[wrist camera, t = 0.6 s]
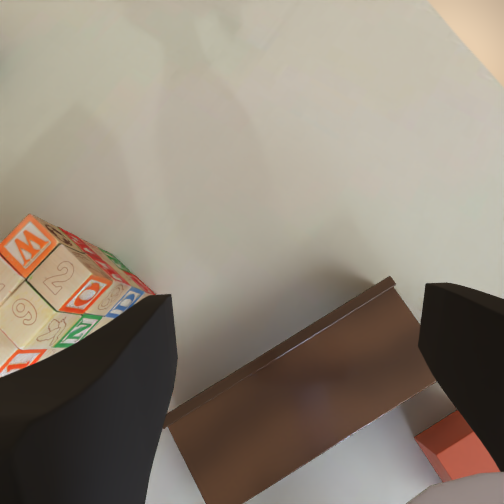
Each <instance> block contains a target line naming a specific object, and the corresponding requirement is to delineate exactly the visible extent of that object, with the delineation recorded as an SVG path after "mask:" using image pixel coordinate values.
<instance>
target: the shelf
mask: <svg viewBox="0 0 504 504" xmlns="http://www.w3.org/2000/svg"><path fill="white" fill-rule="evenodd" d="M395 285H396V283H395V282H394V280H393V279H392V278H391V276H389V277H387V278H386V279H384V280H382V281H381V282H379V283H377V284H376V285H374V286H373V287H371V288H369V289H368V290H366V291H365V292H363V293H361V294H360V295H358V296H356V297H355V298H353V299H352V300H350V301H348V302H347V303H345V304H344V305H342V306H340V307H339V308H337V309H335V310H334V311H332V312H331V313H329V314H327V315H326V316H324V317H322V318H321V319H319V320H318V321H316V322H314V323H313V324H311V325H310V326H308V327H306V328H305V329H303V330H301V331H300V332H298V333H297V334H295V335H293V336H292V337H290V338H289V339H287V340H285V341H284V342H282V343H280V344H279V345H277V346H276V347H274V348H272V349H271V350H269V351H268V352H266V353H264V354H263V355H261V356H259V357H258V358H256V359H255V360H253V361H251V362H250V363H248V364H247V365H245V366H243V367H242V368H240V369H238V370H237V371H235V372H234V373H232V374H230V375H229V376H227V377H226V378H224V379H222V380H221V381H219V382H217V383H216V384H214V385H213V386H211V387H209V388H208V389H206V390H205V391H203V392H201V393H200V394H198V395H196V396H195V397H193V398H192V399H190V400H188V401H187V402H185V403H184V404H182V405H180V406H179V407H177V408H175V409H174V410H172V411H171V412H169V413H167V414H166V418H165V421H164V425H163V429H165V428H166V427H168V428H169V430H170V432H171V434H172V436H173V438H174V440H175V442H176V444H177V446H178V448H179V450H180V452H181V454H182V456H183V458H184V460H185V462H186V464H187V466H188V468H189V470H190V472H191V475H192V477H193V479H194V481H195V483H196V485H197V487H198V489H199V491H200V493H201V495H202V497H203V499H204V501H205V503H206V504H243V503H245V502H246V501H248V500H249V499H251V498H253V497H254V496H256V495H257V494H259V493H260V492H262V491H264V490H265V489H267V488H268V487H270V486H272V485H273V484H275V483H276V482H278V481H279V480H281V479H283V478H284V477H286V476H287V475H289V474H291V473H292V472H294V471H295V470H297V469H299V468H300V467H302V466H303V465H305V464H306V463H308V462H310V461H311V460H313V459H314V458H316V457H318V456H319V455H321V454H322V453H324V452H326V451H327V450H329V449H330V448H332V447H333V446H335V445H337V444H338V443H340V442H341V441H343V440H345V439H346V438H348V437H349V436H351V435H352V434H354V433H356V432H357V431H359V430H360V429H362V428H364V427H365V426H367V425H368V424H370V423H372V422H373V421H375V420H376V419H378V418H379V417H381V416H383V415H384V414H386V413H387V412H389V411H391V410H392V409H394V408H395V407H397V406H399V405H400V404H402V403H403V402H405V401H406V400H408V399H410V398H411V397H413V396H414V395H416V394H418V393H419V392H421V391H422V390H424V389H425V388H427V387H429V386H430V385H432V384H433V383H435V382H437V381H436V379H435V378H434V376H433V375H432V373H431V371H430V369H429V367H428V366H427V364H426V362H425V360H424V358H423V356H422V354H421V352H420V350H419V348H418V340H419V332H420V324H419V323H418V321H417V320H416V318H415V317H414V315H413V314H412V313H411V311H410V310H409V308H408V307H407V305H406V304H405V303H404V301H403V300H402V298H401V297H400V296H399V294H398V293H397V291H396V290H395V288H394V286H395Z"/></svg>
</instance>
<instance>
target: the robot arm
mask: <svg viewBox="0 0 504 504" xmlns="http://www.w3.org/2000/svg"><path fill="white" fill-rule="evenodd" d="M418 348H419V350H420V352H421V354H422V356H423V358H424V360H425V362H426V364H427V366H428V367H429V369H430V371H431V373H432V375H433V376H434V378H435V379H436V381H437V382H438V383H439V385H440V386H441V388H442V389H443V390H444V392H445V393H446V395H447V396H448V397H449V399H450V400H451V401H452V403H453V404H454V405H455V407H456V408H457V410H458V411H459V412H460V414H461V415H462V416H463V418H464V419H465V420H466V422H467V423H468V424H469V426H470V427H471V429H472V430H473V431H474V433H475V434H476V435H477V437H478V438H479V439H480V441H481V442H482V444H483V445H484V447H485V448H486V450H487V451H488V452H489V454H490V455H491V457H492V458H493V460H494V462H495V463H496V465H497V467H498V469H499V470H500V472H493V473H479V474H475V475H471V476H467V477H463V478H459V479H455V480H451V481H447V482H443V483H439V484H435V485H432V486H429V487H428V488H427V489H425V490H424V491H422V492H421V493H420V494H418V495H417V496H416V497H414V498H413V499H412V500H410V501H409V502H407V503H406V504H504V299H502V298H499V297H496V296H493V295H490V294H487V293H484V292H481V291H478V290H475V289H472V288H468V287H465V286H461V285H457V284H452V283H426V285H425V293H424V301H423V309H422V317H421V325H420V332H419V340H418ZM177 359H178V356H177V346H176V336H175V326H174V316H173V307H172V297H171V294H165V295H149V296H147V297H145V298H143V299H142V300H140V301H139V302H137V303H136V304H134V305H133V306H132V307H130V308H129V309H127V310H126V311H124V312H123V313H122V314H120V315H119V316H117V317H116V318H114V319H113V320H112V321H110V322H109V323H107V324H106V325H104V326H102V327H101V328H99V329H98V330H96V331H94V332H93V333H91V334H90V335H88V336H86V337H85V338H83V339H82V340H80V341H78V342H76V343H75V344H73V345H71V346H69V347H67V348H66V349H64V350H62V351H60V352H58V353H56V354H54V355H52V356H50V357H48V358H46V359H43V360H41V361H39V362H37V363H34V364H32V365H30V366H27V367H25V368H22V369H20V370H17V371H15V372H13V373H10V374H8V375H5V376H3V377H0V504H145V500H146V494H147V488H148V482H149V477H150V473H151V468H152V464H153V460H154V456H155V453H156V449H157V446H158V442H159V439H160V435H161V432H162V428H163V425H164V421H165V418H166V414H167V410H168V407H169V403H170V400H171V396H172V392H173V388H174V382H175V375H176V367H177Z"/></svg>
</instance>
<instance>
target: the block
mask: <svg viewBox="0 0 504 504" xmlns="http://www.w3.org/2000/svg"><path fill="white" fill-rule="evenodd" d="M414 439H415V440H416V442H417V443H418V445H419V446H420V448H421V449H422V451H423V452H424V454H425V455H426V457H427V459H428V460H429V462H430V463H431V465H432V466H433V468H434V469H435V471H436V472H437V474H438V476H439V477H440V479H441V480H442V482H447V481H451V480H455V479H459V478H463V477H467V476H471V475H475V474H479V473H493V472H500V470H499V469H498V467H497V465H496V463H495V462H494V460H493V458H492V457H491V455H490V454H489V452H488V451H487V450H486V448H485V447H484V445H483V444H482V442H481V441H480V439H479V438H478V437H477V435H476V434H475V433H474V431H473V430H472V429H471V427H470V426H469V424H468V423H467V422H466V420H465V419H464V418H463V416H462V415H461V414H460V412H459V411H458V410H456V411H455V412H453V413H452V414H450V415H449V416H447V417H445V418H444V419H442V420H441V421H439V422H437V423H436V424H434V425H433V426H431V427H430V428H428V429H426V430H425V431H423V432H422V433H420V434H419V435H417V436H415V437H414Z"/></svg>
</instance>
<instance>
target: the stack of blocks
mask: <svg viewBox="0 0 504 504" xmlns="http://www.w3.org/2000/svg"><path fill="white" fill-rule="evenodd" d="M149 295H155V294H154V293H153V292H152V291H151V290H150V289H149V288H148V287H147V286H146V285H145V284H144V283H143V282H142V281H141V280H140V279H138V278H137V277H136V276H135V275H133V274H132V273H131V272H130V271H129V270H128V269H127V268H126V267H125V266H124V265H123V264H122V263H121V262H120V261H119V260H118V259H116V258H115V257H114V256H113V255H112V254H110V253H108V252H106V251H104V250H102V249H100V248H98V247H96V246H94V245H92V244H90V243H88V242H86V241H84V240H82V239H80V238H78V237H77V236H75V235H73V234H71V233H69V232H67V231H65V230H63V229H62V228H60V227H55V226H53V225H52V224H50V223H48V222H46V221H44V220H42V219H40V218H38V217H36V216H34V215H32V214H28V215H27V216H26V217H25V218H24V219H23V220H22V221H21V222H20V223H19V224H18V226H17V227H16V228H15V229H14V230H13V231H12V232H11V233H10V234H9V235H8V236H7V237H6V238H5V239H4V240H3V241H2V242H1V243H0V377H3V376H5V375H8V374H10V373H13V372H15V371H17V370H20V369H22V368H25V367H27V366H30V365H32V364H34V363H37V362H39V361H41V360H43V359H46V358H48V357H50V356H52V355H54V354H56V353H58V352H60V351H62V350H64V349H66V348H67V347H69V346H71V345H73V344H75V343H76V342H78V341H80V340H82V339H83V338H85V337H86V336H88V335H90V334H91V333H93V332H94V331H96V330H98V329H99V328H101V327H102V326H104V325H106V324H107V323H109V322H110V321H112V320H113V319H114V318H116V317H117V316H119V315H120V314H122V313H123V312H124V311H126V310H127V309H129V308H130V307H132V306H133V305H134V304H136V303H137V302H139V301H140V300H142V299H143V298H145V297H147V296H149Z"/></svg>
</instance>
